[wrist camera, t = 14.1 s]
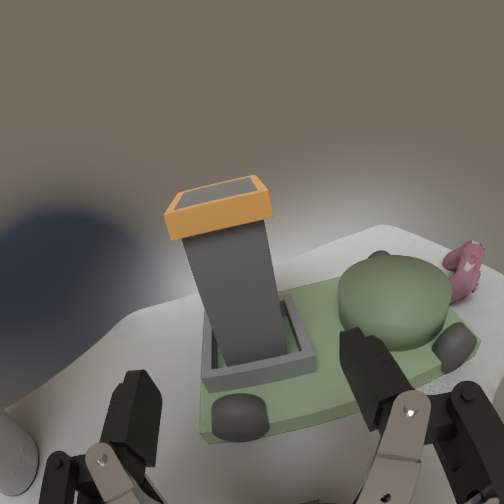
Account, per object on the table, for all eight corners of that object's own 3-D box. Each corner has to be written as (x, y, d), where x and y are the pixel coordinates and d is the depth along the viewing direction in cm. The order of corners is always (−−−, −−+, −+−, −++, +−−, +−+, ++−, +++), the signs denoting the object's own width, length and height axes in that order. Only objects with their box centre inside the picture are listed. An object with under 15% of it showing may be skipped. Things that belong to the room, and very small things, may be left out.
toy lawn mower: (208, 445, 17) (183, 414, 15) (209, 320, 32) (197, 284, 30) (475, 357, 17) (492, 315, 15) (396, 273, 32) (398, 238, 30)
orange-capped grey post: (224, 379, 21) (163, 215, 15) (222, 333, 26) (178, 192, 21) (296, 364, 21) (267, 190, 15) (282, 320, 27) (255, 174, 21)
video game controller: (449, 324, 24) (488, 283, 19) (421, 300, 26) (456, 255, 21) (464, 280, 29) (492, 242, 24) (441, 260, 31) (467, 221, 26)
